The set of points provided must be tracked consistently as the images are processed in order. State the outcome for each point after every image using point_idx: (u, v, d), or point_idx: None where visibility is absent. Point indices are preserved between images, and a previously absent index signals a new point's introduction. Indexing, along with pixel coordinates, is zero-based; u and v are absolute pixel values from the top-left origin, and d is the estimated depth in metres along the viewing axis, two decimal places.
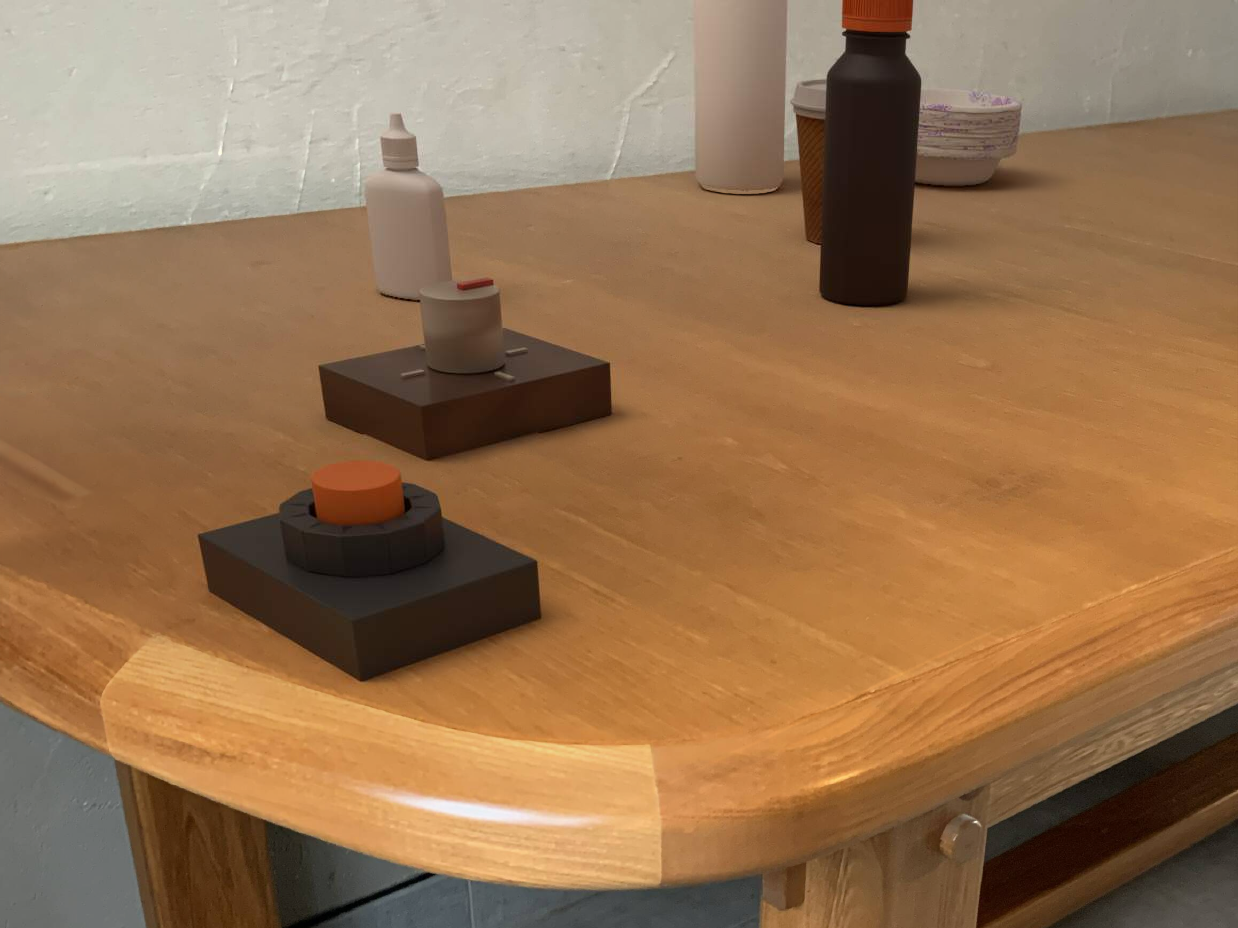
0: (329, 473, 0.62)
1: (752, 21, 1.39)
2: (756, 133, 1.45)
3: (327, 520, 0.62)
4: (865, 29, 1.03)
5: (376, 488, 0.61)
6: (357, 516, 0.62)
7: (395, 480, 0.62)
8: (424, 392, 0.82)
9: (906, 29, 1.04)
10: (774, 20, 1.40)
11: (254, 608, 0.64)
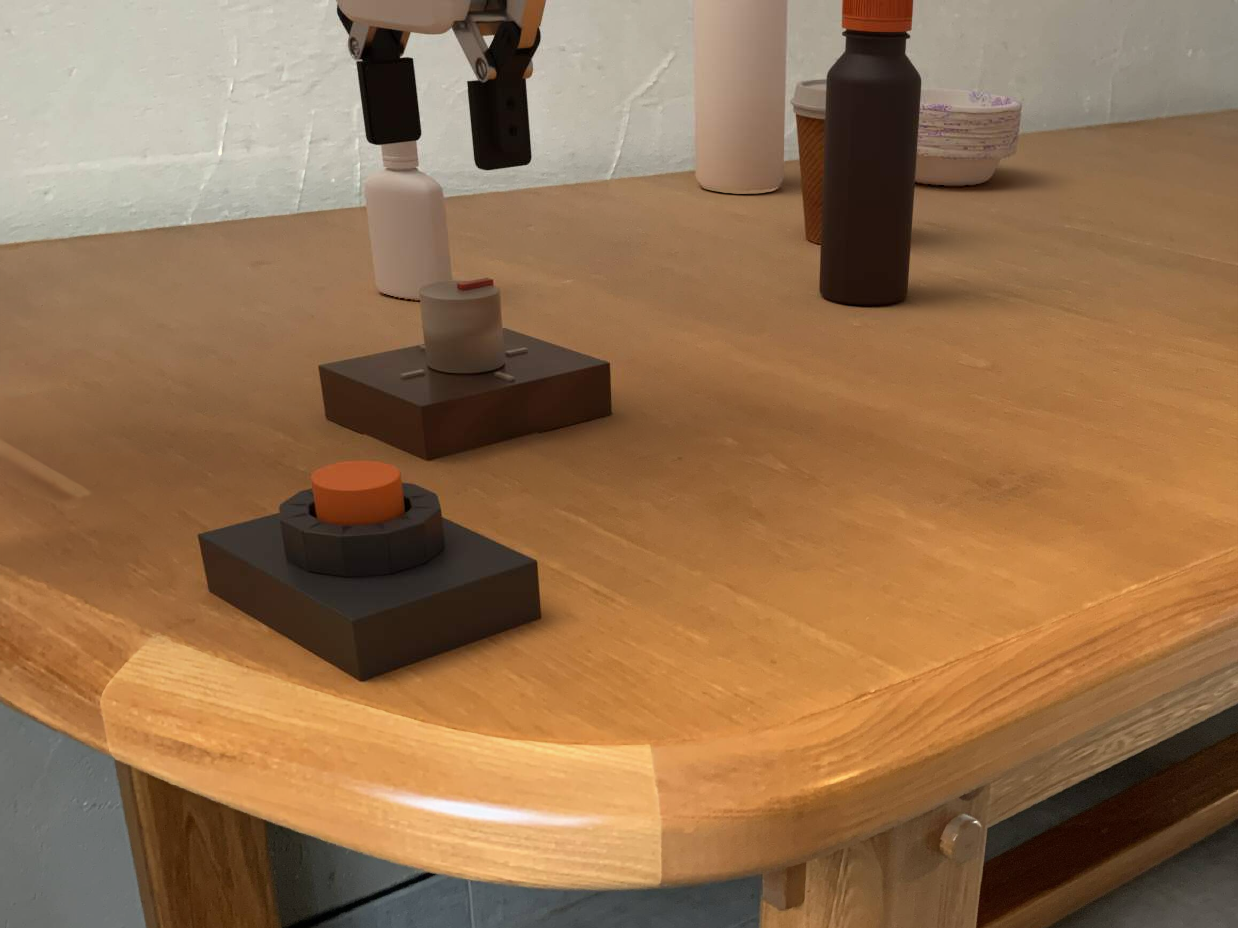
0: (329, 473, 0.62)
1: (752, 21, 1.39)
2: (756, 133, 1.45)
3: (327, 520, 0.62)
4: (865, 29, 1.03)
5: (376, 488, 0.61)
6: (357, 516, 0.62)
7: (395, 480, 0.62)
8: (424, 392, 0.82)
9: (906, 29, 1.04)
10: (774, 20, 1.40)
11: (254, 608, 0.64)
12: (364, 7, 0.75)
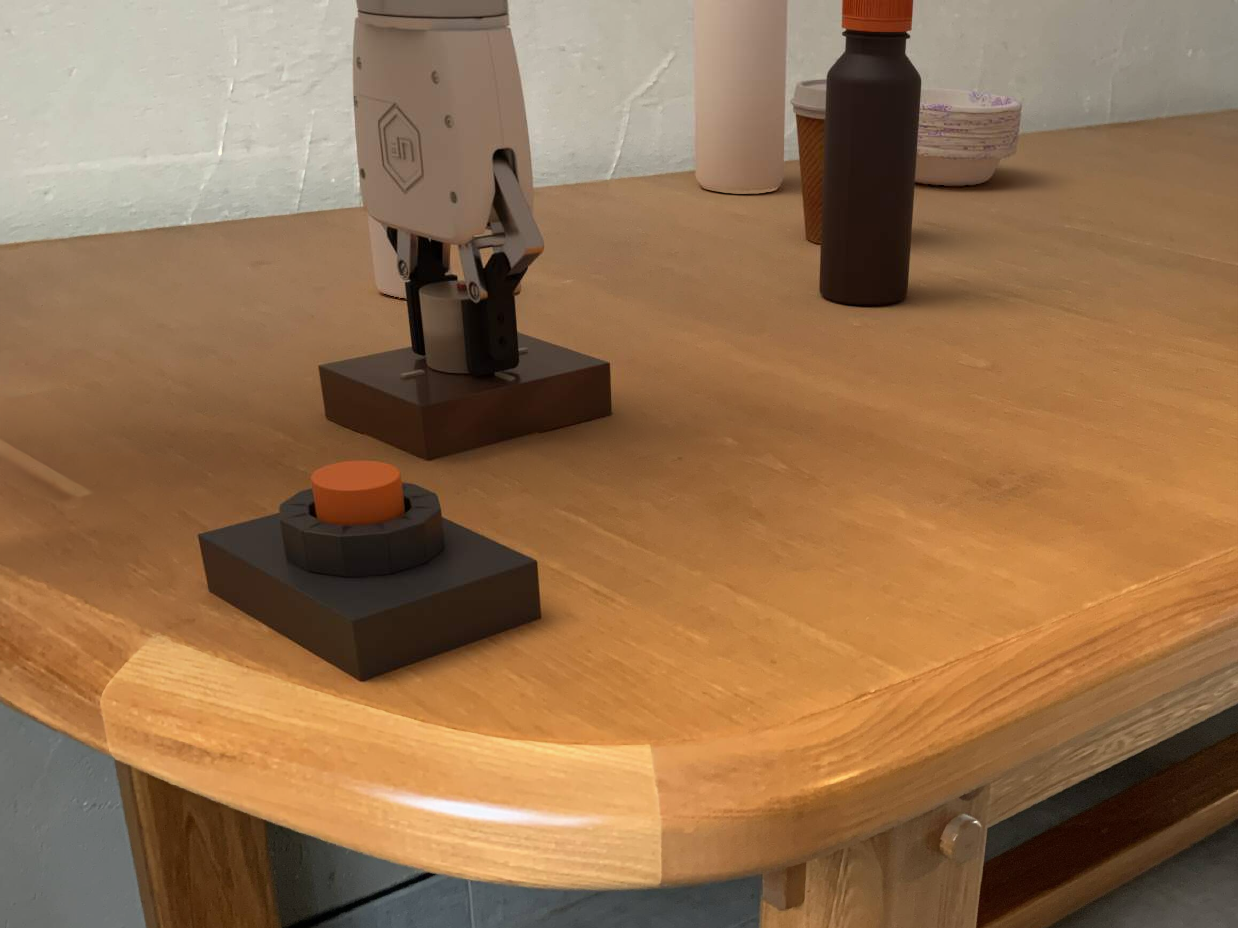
0: (329, 473, 0.62)
1: (752, 21, 1.39)
2: (756, 133, 1.45)
3: (327, 520, 0.62)
4: (865, 29, 1.03)
5: (376, 488, 0.61)
6: (357, 516, 0.62)
7: (395, 480, 0.62)
8: (424, 392, 0.82)
9: (906, 29, 1.04)
10: (774, 20, 1.40)
11: (254, 608, 0.64)
12: (389, 213, 0.81)
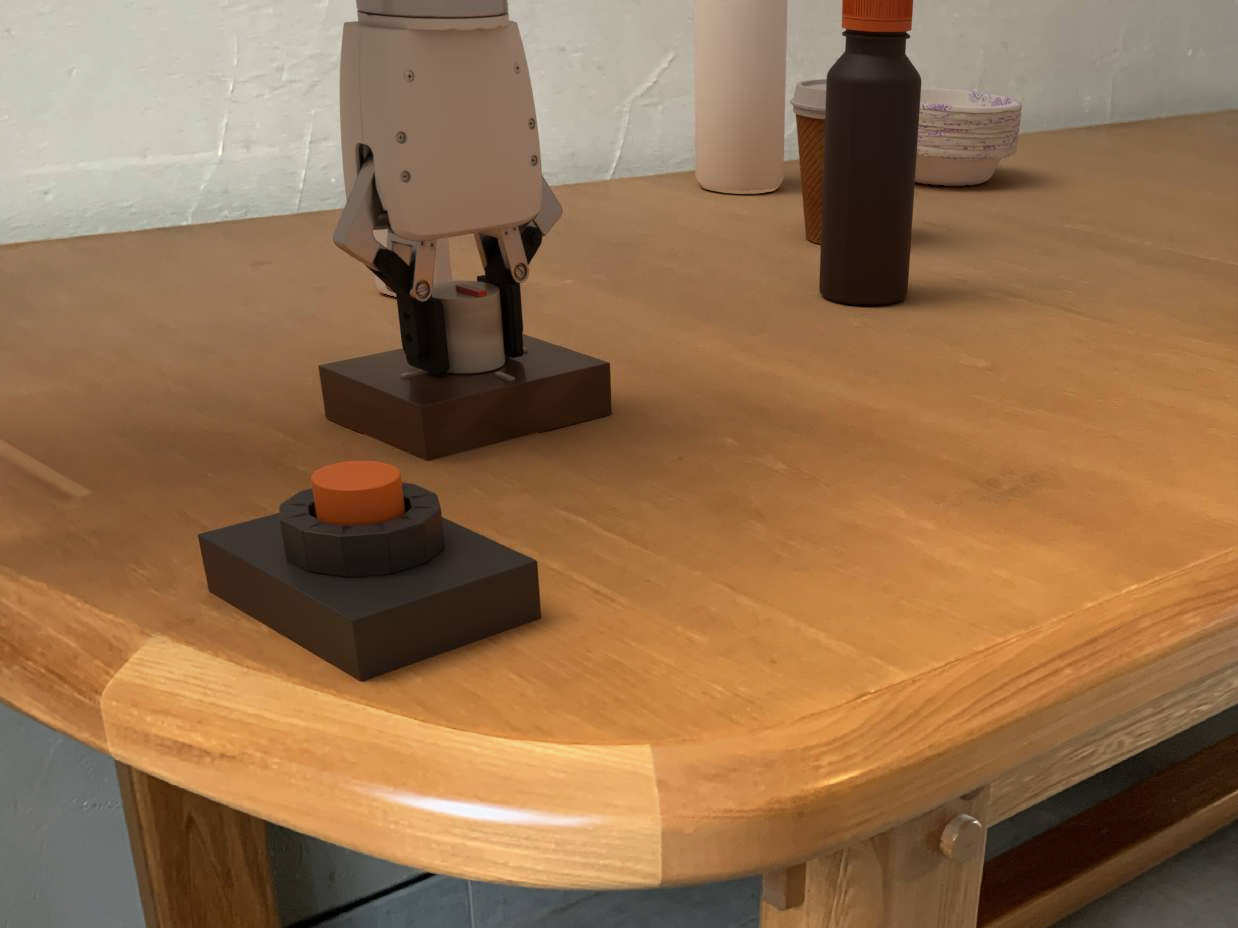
0: (329, 473, 0.62)
1: (752, 21, 1.39)
2: (756, 133, 1.45)
3: (327, 520, 0.62)
4: (865, 29, 1.03)
5: (376, 488, 0.61)
6: (357, 516, 0.62)
7: (395, 480, 0.62)
8: (424, 392, 0.82)
9: (906, 29, 1.04)
10: (774, 20, 1.40)
11: (254, 608, 0.64)
12: None
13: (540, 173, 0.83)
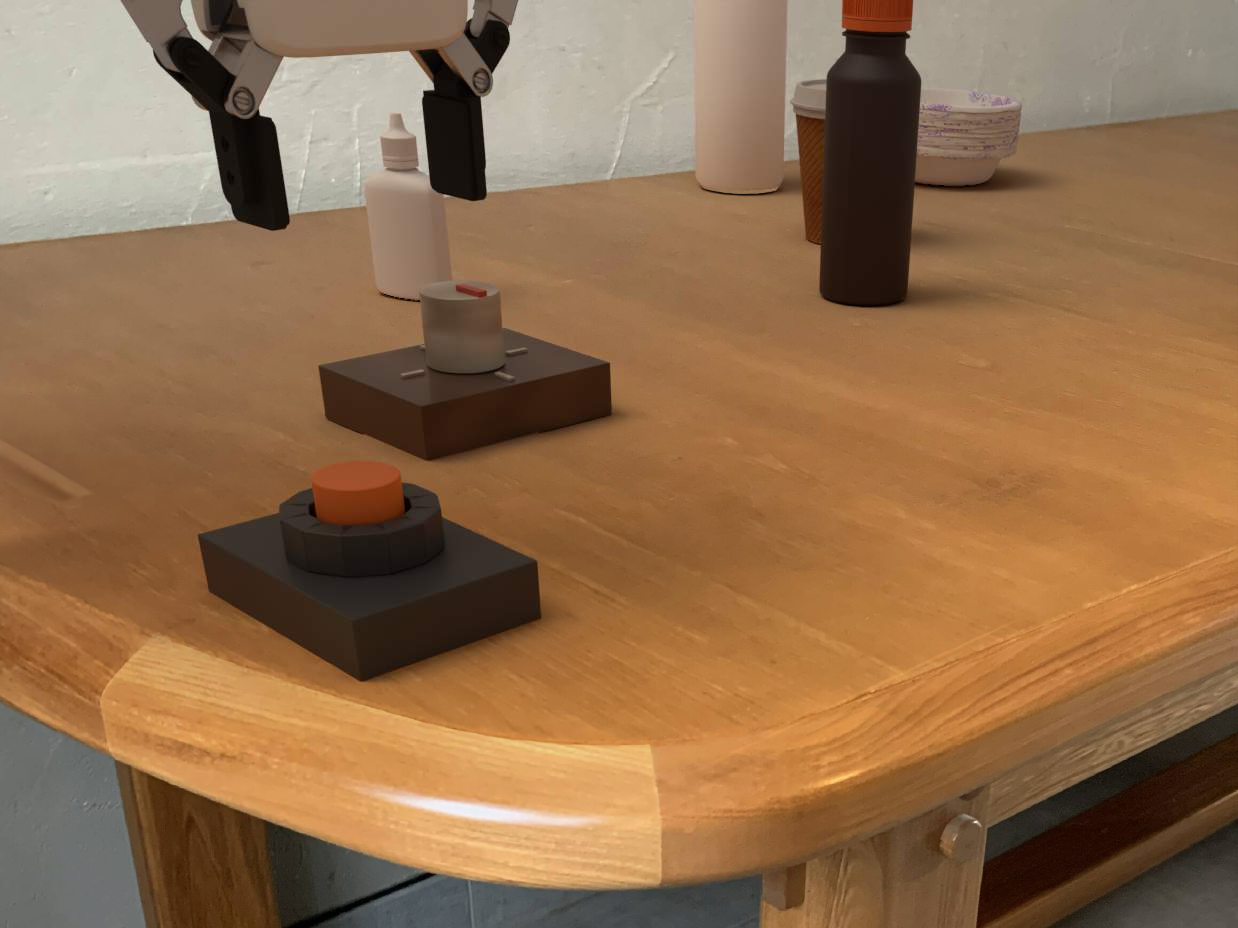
0: (329, 473, 0.62)
1: (752, 21, 1.39)
2: (756, 133, 1.45)
3: (327, 520, 0.62)
4: (865, 29, 1.03)
5: (376, 488, 0.61)
6: (357, 516, 0.62)
7: (395, 480, 0.62)
8: (424, 392, 0.82)
9: (906, 29, 1.04)
10: (774, 20, 1.40)
11: (254, 608, 0.64)
12: None
13: None
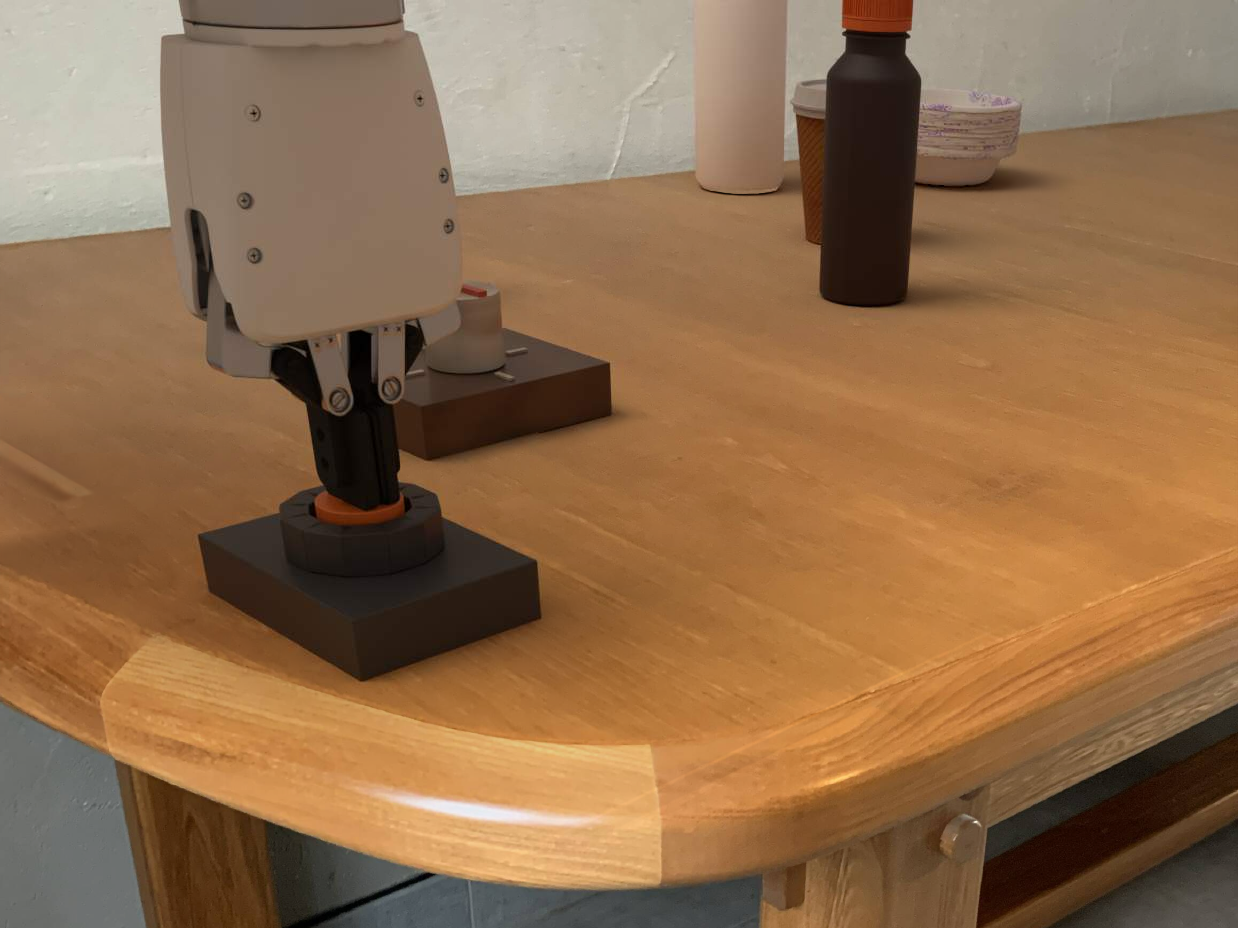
0: (332, 497, 0.63)
1: (752, 21, 1.39)
2: (756, 133, 1.45)
3: None
4: (865, 29, 1.03)
5: (379, 511, 0.62)
6: None
7: (398, 503, 0.63)
8: (424, 392, 0.82)
9: (906, 29, 1.04)
10: (774, 20, 1.40)
11: (254, 608, 0.64)
12: None
13: (458, 243, 0.59)
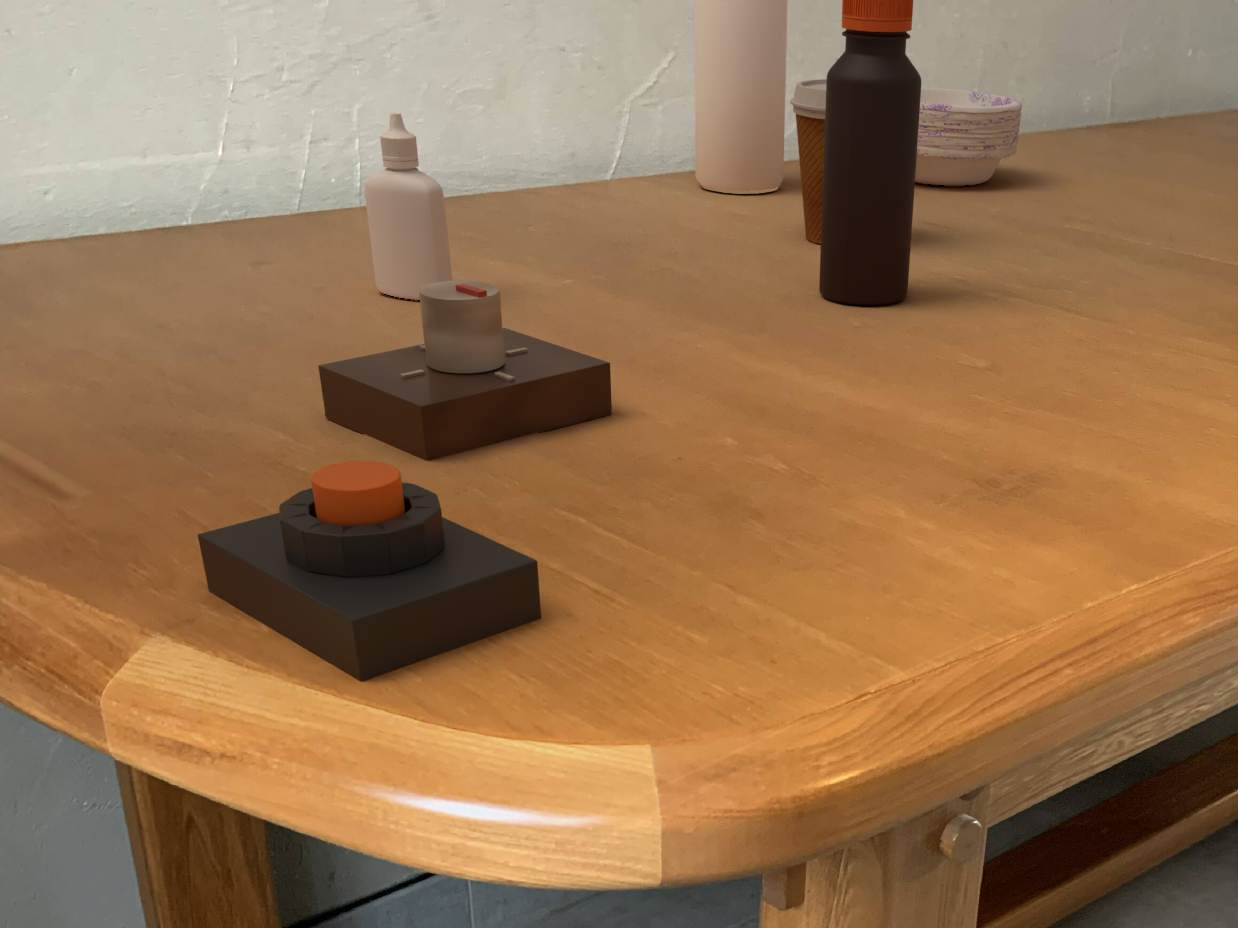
0: (329, 473, 0.62)
1: (752, 21, 1.39)
2: (756, 133, 1.45)
3: (327, 520, 0.62)
4: (865, 29, 1.03)
5: (376, 488, 0.61)
6: (357, 516, 0.62)
7: (395, 480, 0.62)
8: (424, 392, 0.82)
9: (906, 29, 1.04)
10: (774, 20, 1.40)
11: (254, 608, 0.64)
12: None
13: None
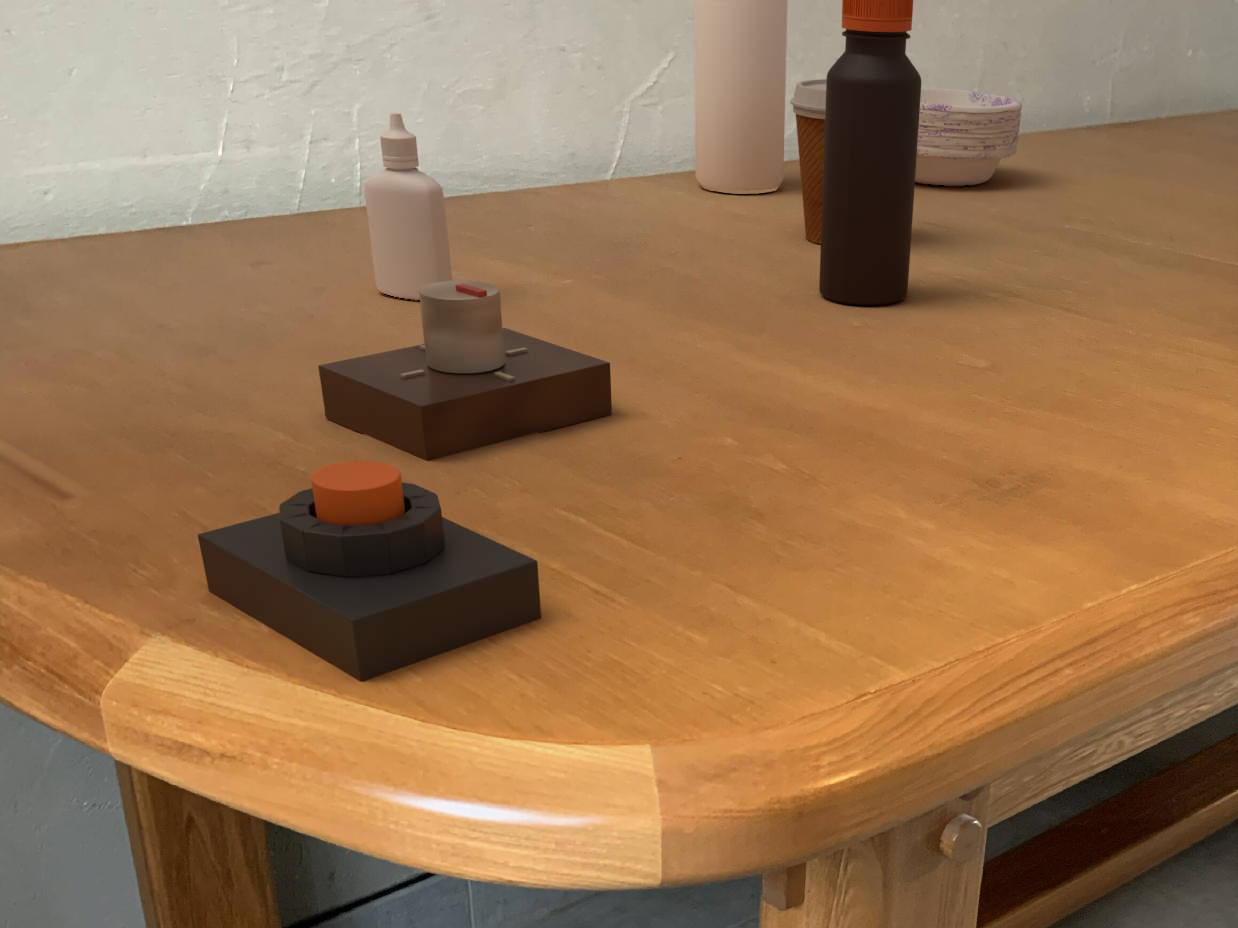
0: (329, 473, 0.62)
1: (752, 21, 1.39)
2: (756, 133, 1.45)
3: (327, 520, 0.62)
4: (865, 29, 1.03)
5: (376, 488, 0.61)
6: (357, 516, 0.62)
7: (395, 480, 0.62)
8: (424, 392, 0.82)
9: (906, 29, 1.04)
10: (774, 20, 1.40)
11: (254, 608, 0.64)
12: None
13: None
